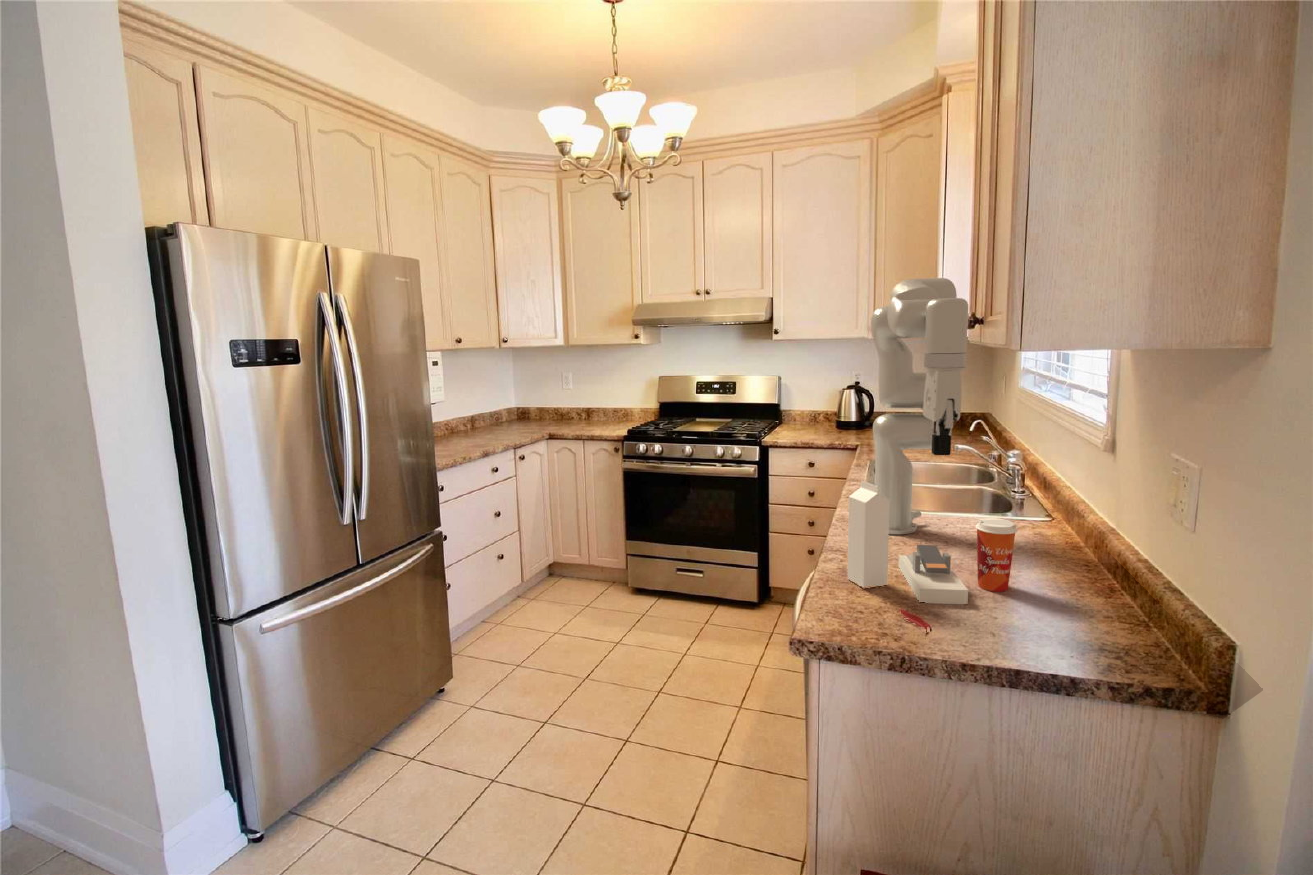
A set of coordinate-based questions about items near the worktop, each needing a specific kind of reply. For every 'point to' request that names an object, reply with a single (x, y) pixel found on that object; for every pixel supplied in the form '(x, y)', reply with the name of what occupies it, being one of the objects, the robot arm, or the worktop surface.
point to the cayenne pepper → (915, 619)
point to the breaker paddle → (931, 559)
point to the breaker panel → (933, 581)
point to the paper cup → (994, 553)
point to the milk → (868, 536)
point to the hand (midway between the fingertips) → (940, 454)
